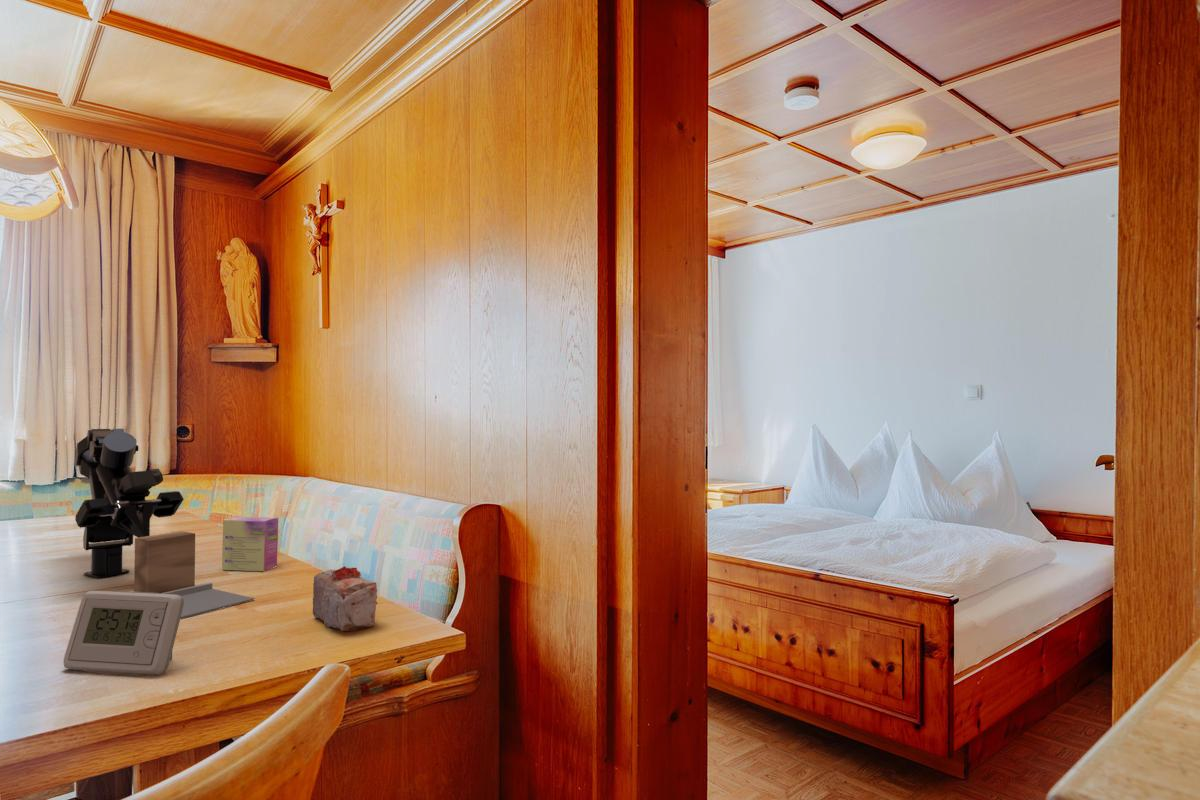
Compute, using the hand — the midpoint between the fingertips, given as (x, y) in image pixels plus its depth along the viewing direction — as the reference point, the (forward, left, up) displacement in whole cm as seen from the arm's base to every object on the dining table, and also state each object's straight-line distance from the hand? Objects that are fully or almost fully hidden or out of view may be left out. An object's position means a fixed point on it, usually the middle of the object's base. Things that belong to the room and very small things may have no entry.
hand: (146, 539), depth 143 cm
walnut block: (+7, 0, -11) cm, 13 cm away
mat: (+18, 0, -11) cm, 21 cm away
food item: (+52, +6, -11) cm, 53 cm away
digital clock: (+42, -24, -11) cm, 49 cm away
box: (0, +23, -11) cm, 26 cm away
